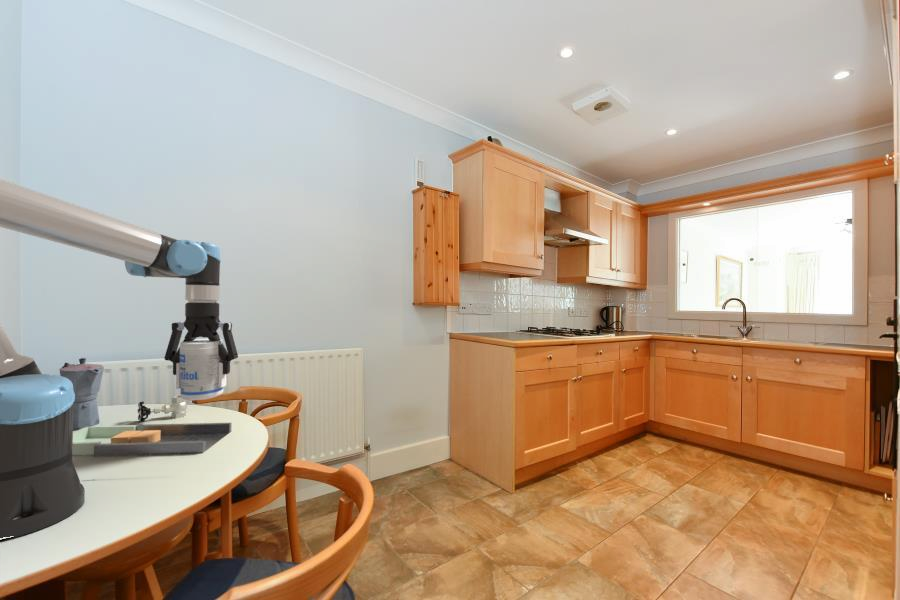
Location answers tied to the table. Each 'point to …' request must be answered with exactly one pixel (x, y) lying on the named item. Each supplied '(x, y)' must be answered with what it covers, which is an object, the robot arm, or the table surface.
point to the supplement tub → (199, 369)
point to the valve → (164, 409)
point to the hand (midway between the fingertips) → (201, 386)
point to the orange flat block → (146, 436)
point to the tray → (95, 437)
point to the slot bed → (169, 440)
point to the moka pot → (84, 391)
